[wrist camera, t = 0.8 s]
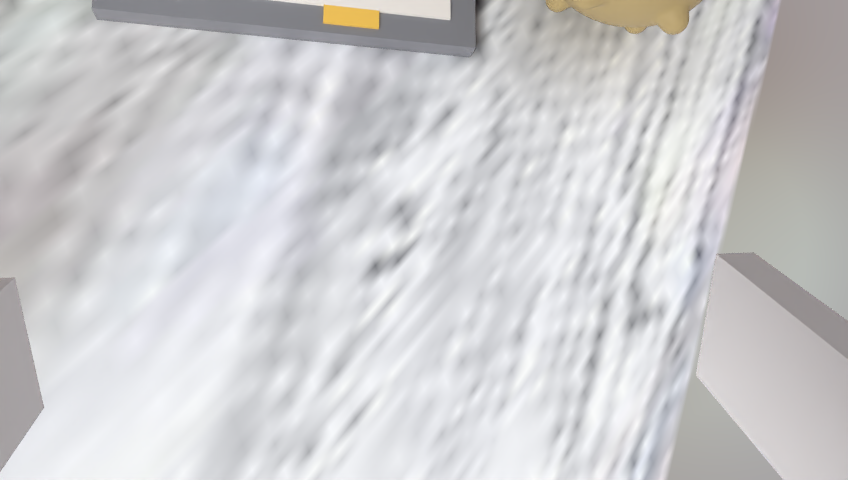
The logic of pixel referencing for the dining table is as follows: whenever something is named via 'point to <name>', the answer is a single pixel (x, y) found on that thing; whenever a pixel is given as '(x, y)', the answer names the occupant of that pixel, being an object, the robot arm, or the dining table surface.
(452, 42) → the breaker panel
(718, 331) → the robot arm
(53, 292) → the dining table surface
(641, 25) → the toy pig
